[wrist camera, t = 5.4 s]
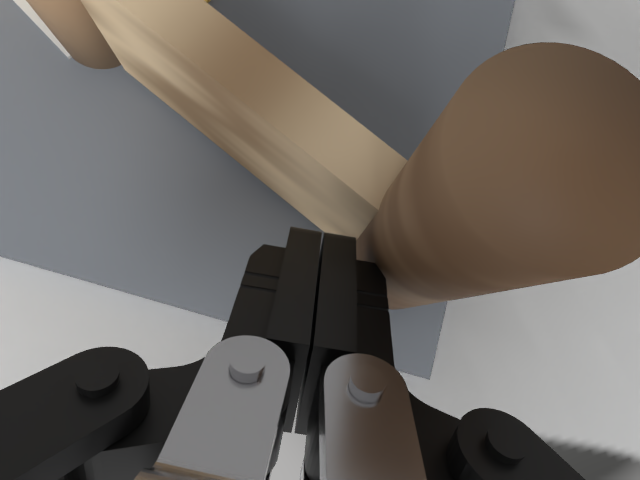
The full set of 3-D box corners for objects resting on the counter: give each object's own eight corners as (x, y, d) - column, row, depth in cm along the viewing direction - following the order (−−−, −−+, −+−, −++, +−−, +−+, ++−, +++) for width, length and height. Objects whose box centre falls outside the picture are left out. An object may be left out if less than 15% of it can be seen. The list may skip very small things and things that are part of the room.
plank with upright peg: (106, 87, 15) (-174, -279, 6) (168, 27, 15) (-1, -394, 6) (401, 329, 14) (599, 330, 5) (456, 257, 14) (723, 140, 5)
